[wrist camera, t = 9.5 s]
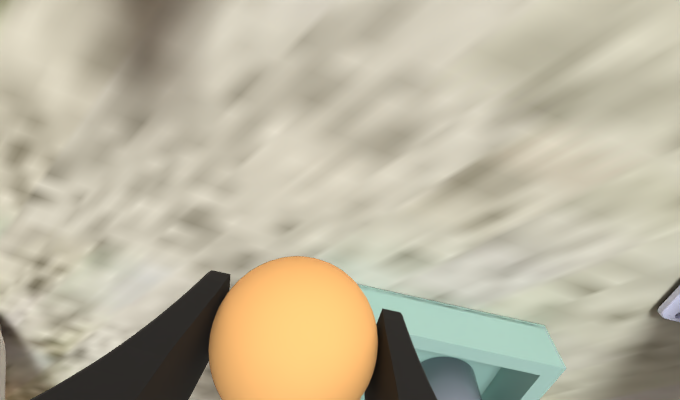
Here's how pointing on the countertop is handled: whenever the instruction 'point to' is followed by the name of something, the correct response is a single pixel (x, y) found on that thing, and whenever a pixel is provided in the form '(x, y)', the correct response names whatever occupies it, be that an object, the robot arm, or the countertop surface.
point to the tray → (478, 344)
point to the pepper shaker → (451, 379)
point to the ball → (293, 334)
